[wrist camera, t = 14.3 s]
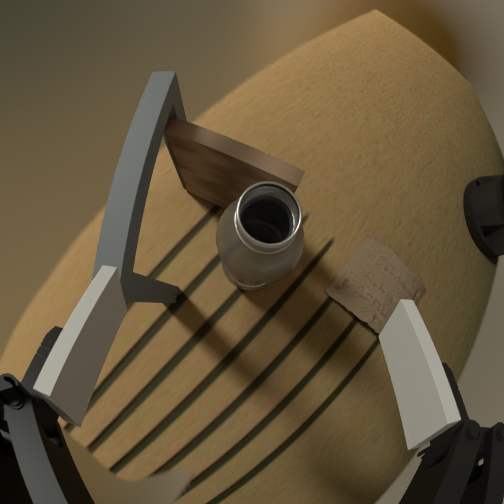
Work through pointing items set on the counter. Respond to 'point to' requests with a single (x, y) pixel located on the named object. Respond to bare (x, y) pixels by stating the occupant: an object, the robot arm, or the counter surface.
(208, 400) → the counter surface
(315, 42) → the counter surface
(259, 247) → the silver metal bottle
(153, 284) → the door frame
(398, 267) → the clay tablet
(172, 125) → the door
